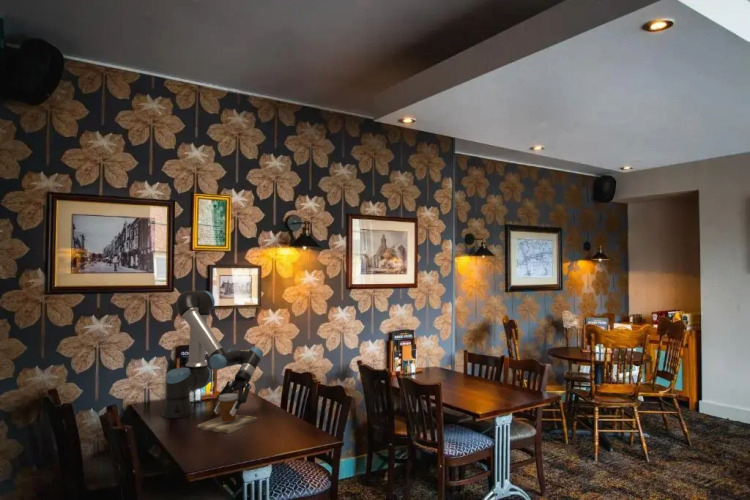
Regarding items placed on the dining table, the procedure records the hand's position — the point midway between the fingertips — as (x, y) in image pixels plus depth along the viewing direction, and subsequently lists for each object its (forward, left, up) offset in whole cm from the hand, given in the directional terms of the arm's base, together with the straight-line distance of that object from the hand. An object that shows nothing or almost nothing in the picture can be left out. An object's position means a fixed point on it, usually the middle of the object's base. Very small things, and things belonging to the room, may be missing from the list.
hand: (223, 413), depth 247 cm
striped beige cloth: (0, +3, -6) cm, 7 cm away
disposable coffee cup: (0, +3, -4) cm, 5 cm away
